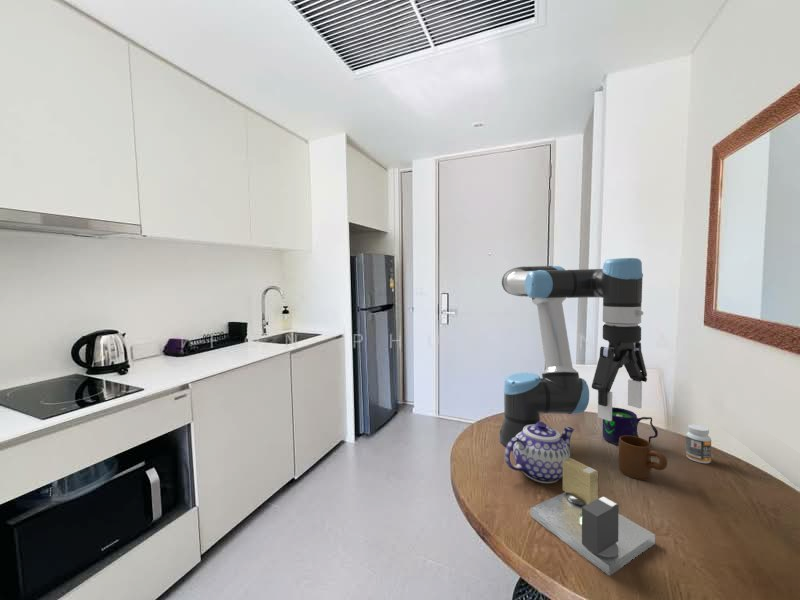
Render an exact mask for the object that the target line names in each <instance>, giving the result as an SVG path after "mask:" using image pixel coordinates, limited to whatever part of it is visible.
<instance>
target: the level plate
mask: <svg viewBox="0 0 800 600" xmlns="http://www.w3.org/2000/svg"><path fill="white" fill-rule="evenodd" d="M582 507H583V506H580V505H577V504H575V503H573V502H571V501H570V500H569V499H568V498H567V497H566V492H565V491H563V492H562V493H560V494H558V495H556V496H554V497H551V498H550V499H546V500H545V501H543V502H540V503H538V504H536V505H533V506H532V507H530V510H529V512H530V515H529V516H530V517H531V518H532V519H533V520H535V522H537V523H539V524H540V525H541V526H543V527H544V528H545V529H546V530H548V531H549V532H551V534H554V536H555V537H557V538H558V539H560V540H561V541H562V542H563V543H565V544H566V545H567V546H569V547H570V548H571V549H573V550H574V551H575V552H577V553H578V554H579V555H580V556H582V557H583V558H585V559H586V560H587V561H589V562H590V563H591V564H592V565H594V566H595V567H596V566H597V567H596V568H598V569H599V570H600V569H601V570H600V571H602V572H603V573H604V572H605V574H606V576H608V575H609V576H608V577H610V576H612V575H613V574H615V573H617V572H618V571H619V570H620V569H622V568H623V567H625V566H626V565H627V564H629V563H630V562H632V561H633V560H634V559H636V558H637V557H639V556H640V555H641V554H643V553H645V552H646V551H647V550H648V548H649V549H650V548H651V547H653V546H654V545H656V534H654V533H653V532H651V531H649V530H648V529H646V528H644V527H643V526H641V525H639V524H637V523H636V522H634V521H633V520H630V519H629V518H627V517H626V516H624V515H623V514H620V512H618V542H616V544H617V546H618V554H617V556H615V557H611V558H608V557H603V556H600V555H596V554H595V553H593V552H592V551H590V550H589V549H588V548H587V547H585V546H584V545H583V544H582ZM642 552H643V553H642ZM638 555H639V556H638ZM635 557H636V558H635ZM632 559H633V560H632ZM631 560H632V561H631ZM624 565H625V566H624Z"/></svg>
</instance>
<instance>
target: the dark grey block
mask: <svg viewBox="0 0 800 600" xmlns="http://www.w3.org/2000/svg"><path fill="white" fill-rule="evenodd" d="M619 507H620V506H619V504H618V503H617V502H615V501H613V500H611V499H610V498H607V497H606V496H604V495H603V496H601V497H598V499H597V500H595V501H593V502H591V503H589V504H587V505H585V506H583V507H582V544H583V545H584V546H585V547H587V548H588V549H589V550H590V551H592V552H593V553H595V554H596V555H600V556H603V557H608V558H611V557H615V556H617V554H618V546H617V544H616V542H618V513H619Z"/></svg>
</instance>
